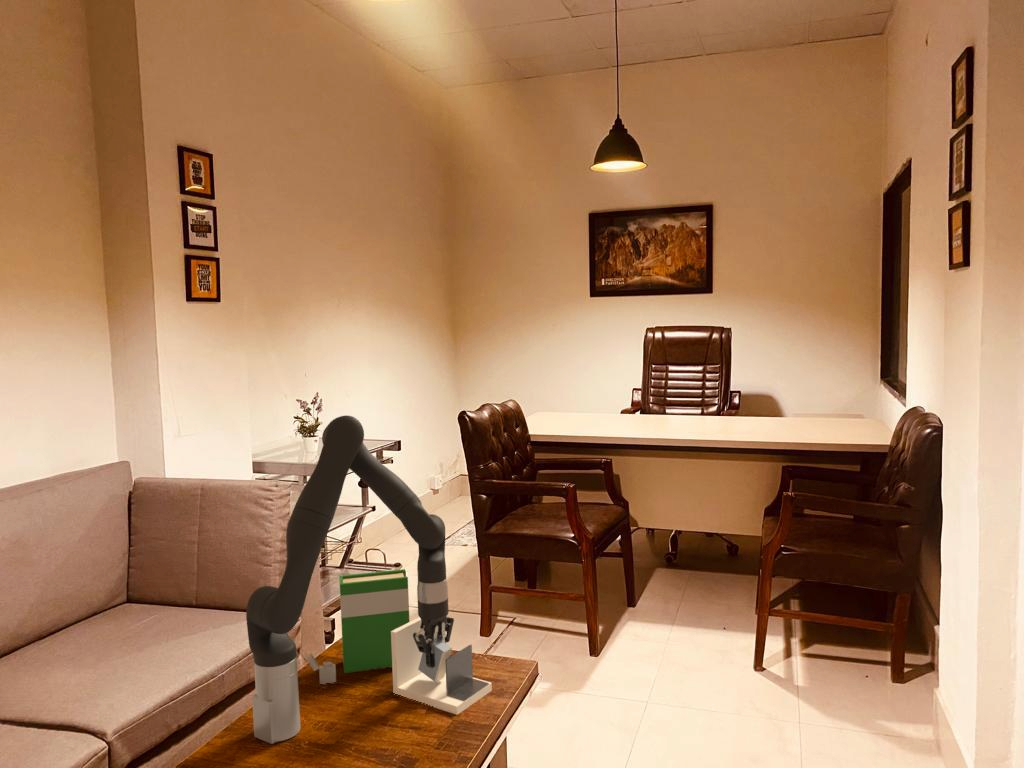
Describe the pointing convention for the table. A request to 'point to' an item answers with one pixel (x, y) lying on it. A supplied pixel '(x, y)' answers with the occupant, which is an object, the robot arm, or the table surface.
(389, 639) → the hardback book
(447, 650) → the small book
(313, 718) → the table surface
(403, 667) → the shelf
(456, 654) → the bookend
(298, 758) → the table surface
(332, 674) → the lighter
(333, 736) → the table surface
